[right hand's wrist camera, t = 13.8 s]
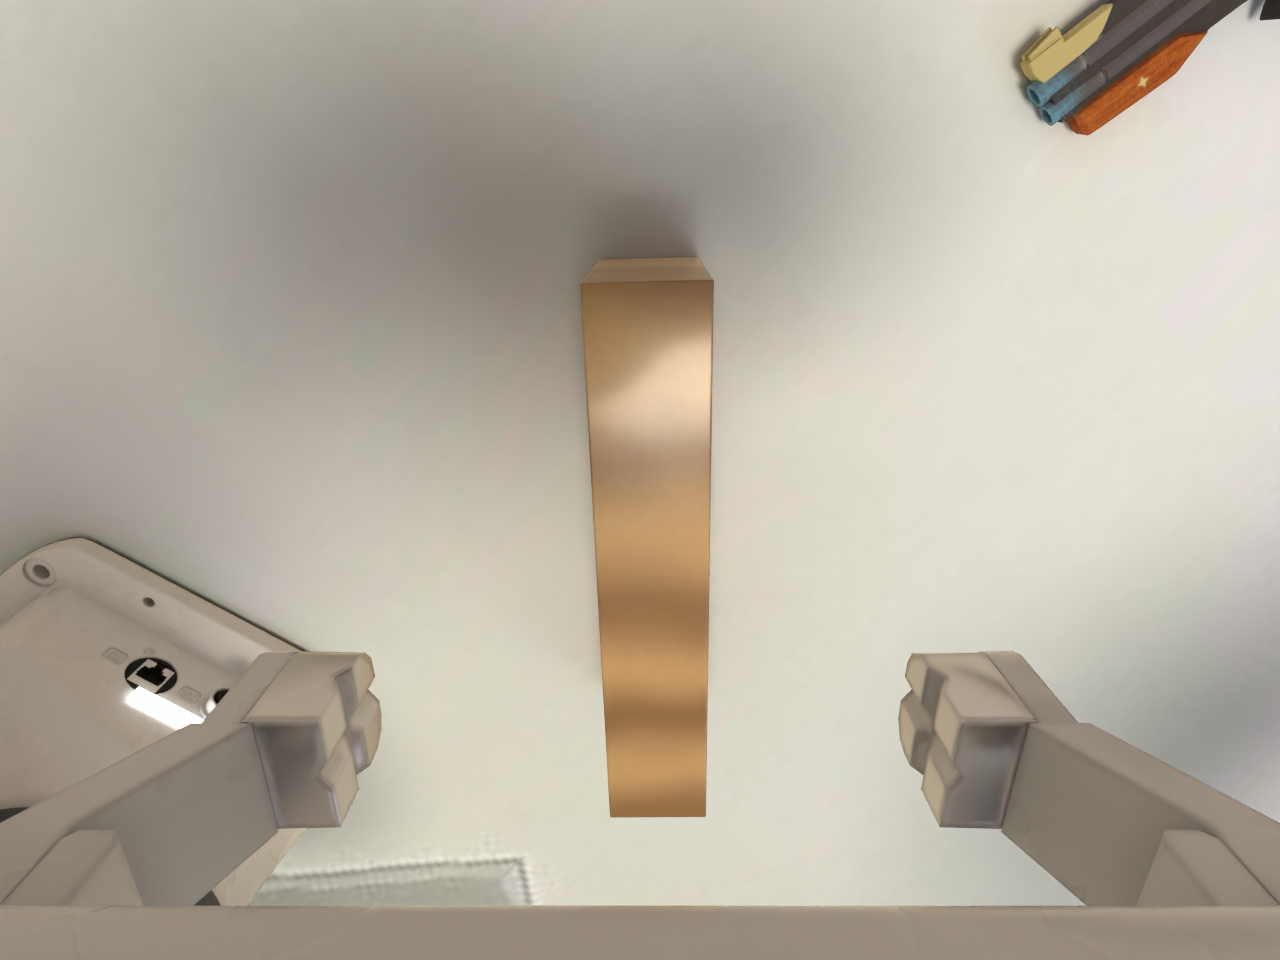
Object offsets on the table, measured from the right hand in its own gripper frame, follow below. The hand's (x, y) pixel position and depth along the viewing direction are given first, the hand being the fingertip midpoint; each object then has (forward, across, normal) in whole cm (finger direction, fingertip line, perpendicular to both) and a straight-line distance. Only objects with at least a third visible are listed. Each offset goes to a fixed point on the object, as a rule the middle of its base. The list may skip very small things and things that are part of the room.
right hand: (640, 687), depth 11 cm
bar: (+24, +1, -8) cm, 26 cm away
